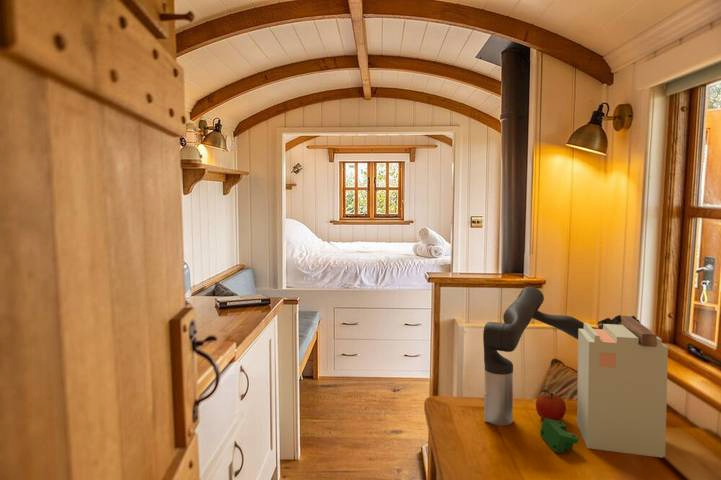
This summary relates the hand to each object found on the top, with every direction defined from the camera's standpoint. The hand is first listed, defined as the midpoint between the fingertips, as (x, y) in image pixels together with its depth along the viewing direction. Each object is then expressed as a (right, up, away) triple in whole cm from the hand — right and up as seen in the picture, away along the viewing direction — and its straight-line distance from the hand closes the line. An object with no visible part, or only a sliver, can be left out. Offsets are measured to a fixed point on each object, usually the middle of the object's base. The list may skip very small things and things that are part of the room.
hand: (626, 318), depth 143 cm
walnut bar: (-2, -4, -8) cm, 9 cm away
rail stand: (-8, -36, -8) cm, 38 cm away
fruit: (-23, -36, +5) cm, 43 cm away
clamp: (-27, -37, -11) cm, 47 cm away
